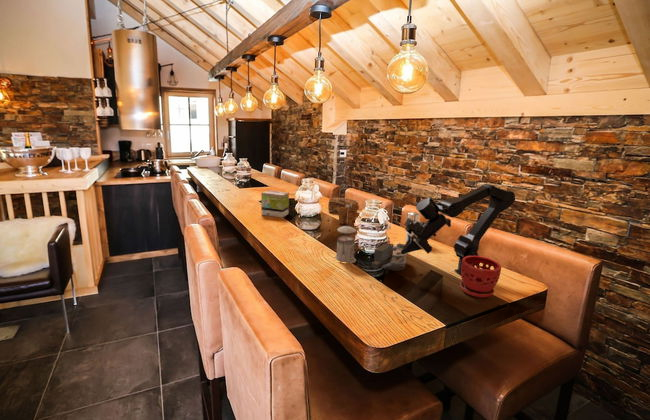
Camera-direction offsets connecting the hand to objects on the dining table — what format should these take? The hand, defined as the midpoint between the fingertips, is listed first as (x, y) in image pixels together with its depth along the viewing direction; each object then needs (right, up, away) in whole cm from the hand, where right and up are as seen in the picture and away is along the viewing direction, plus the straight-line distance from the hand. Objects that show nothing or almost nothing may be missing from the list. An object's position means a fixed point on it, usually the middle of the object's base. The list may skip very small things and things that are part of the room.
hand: (401, 253), depth 140 cm
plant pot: (+26, -14, -9) cm, 30 cm away
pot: (-3, -8, +10) cm, 13 cm away
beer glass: (+15, 0, +47) cm, 49 cm away
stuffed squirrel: (-16, +8, +75) cm, 77 cm away
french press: (-21, -5, +17) cm, 28 cm away
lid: (-3, -2, +8) cm, 9 cm away
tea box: (-62, +14, +90) cm, 110 cm away
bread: (-18, +15, +102) cm, 105 cm away
